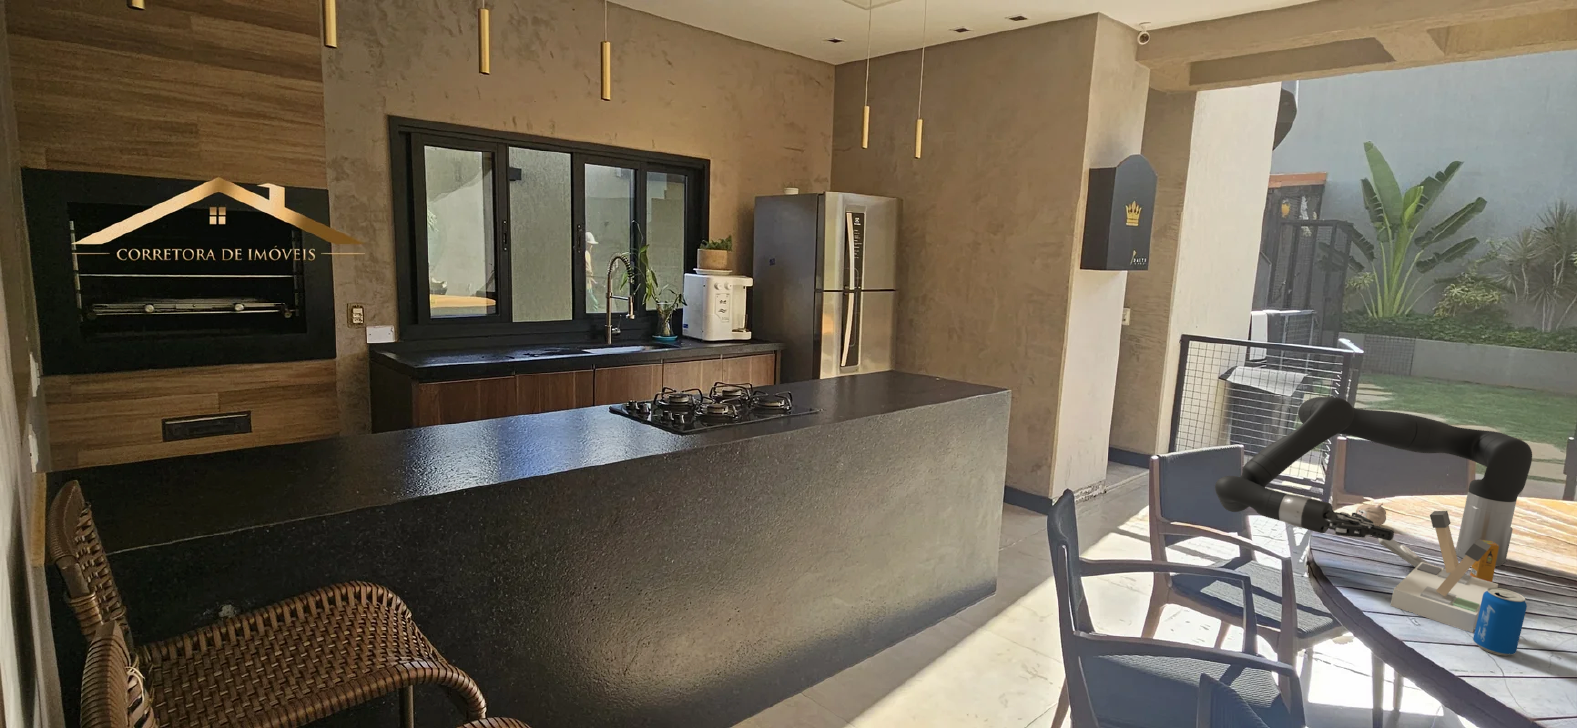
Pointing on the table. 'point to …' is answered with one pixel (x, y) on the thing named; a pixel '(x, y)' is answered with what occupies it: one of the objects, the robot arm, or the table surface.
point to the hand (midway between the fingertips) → (1392, 535)
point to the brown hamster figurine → (1373, 513)
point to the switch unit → (1441, 596)
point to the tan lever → (1464, 566)
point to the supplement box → (1486, 563)
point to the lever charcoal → (1445, 539)
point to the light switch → (1402, 552)
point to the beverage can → (1500, 621)
